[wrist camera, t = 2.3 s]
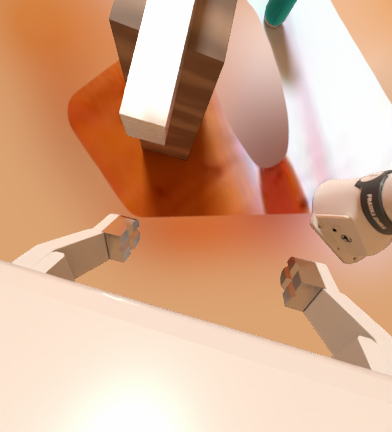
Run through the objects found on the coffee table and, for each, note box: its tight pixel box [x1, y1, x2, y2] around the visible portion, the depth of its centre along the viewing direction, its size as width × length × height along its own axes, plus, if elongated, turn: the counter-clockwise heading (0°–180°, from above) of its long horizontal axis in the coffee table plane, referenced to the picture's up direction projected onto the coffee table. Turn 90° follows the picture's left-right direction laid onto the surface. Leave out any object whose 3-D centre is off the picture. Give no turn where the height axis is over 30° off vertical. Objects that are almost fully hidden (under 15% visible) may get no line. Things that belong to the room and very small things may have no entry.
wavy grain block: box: [109, 0, 237, 161], centre depth 29 cm, size 16×10×26 cm, turn 169°
